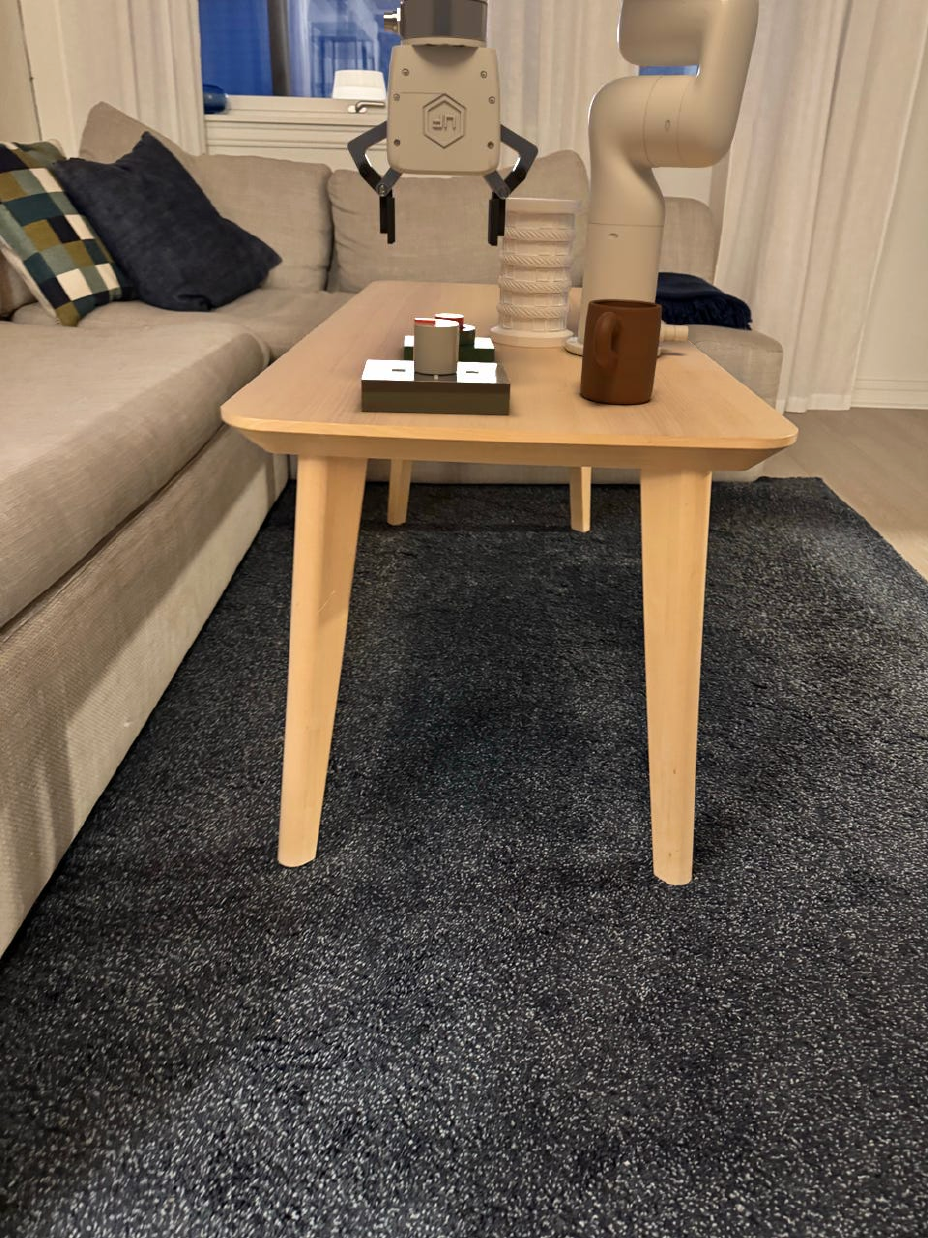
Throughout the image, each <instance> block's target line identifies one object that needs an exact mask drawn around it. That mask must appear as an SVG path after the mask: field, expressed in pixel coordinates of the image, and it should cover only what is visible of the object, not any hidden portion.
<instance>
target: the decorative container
mask: <svg viewBox="0 0 928 1238" xmlns="http://www.w3.org/2000/svg"><path fill="white" fill-rule="evenodd" d="M582 202H583V201H582V200H576V199H559V198H538V197H537V198H535V197H508V198H506V211H505V234H504V236H500V238H501V250H500V251H499V253H498V260H499V264H500V275H499V276H498V279H497V286H498V289H499V298H498V299H499V300H497V303H496V312H497V314H498V320H497V325H495V326H493V327H491V328H490V335H489V338H490V339H491V341H492V342H493V343H498V344H500V345H506V346H513V347H524V348H560V347H565V344H566V340H567V339H569V338H573V337H574V332H573V331H572V330H570V329H568V328H567V322H568V316H569V315H570V312H571V305H570V303H569V298H570V292H571V291H572V287H573V281H572V279H571V273H572V272H571V271H572V267H573V266H574V262H575V256H574V254H573V247H574V241H576V237H577V228H575V222H576V214H579V213H581V211H582Z"/></svg>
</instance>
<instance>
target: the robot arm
mask: <svg viewBox="0 0 928 1238" xmlns="http://www.w3.org/2000/svg"><path fill="white" fill-rule="evenodd" d="M620 4H621V5H620V10H619V16H618V22H617V23H618V26H617V37H616V40H617V47H618V52H619V54H620V55H621V57H622V58H623V60H625V61H626V62H628V63H630V64H632V65H636V66H639V67H653V68H655V67H695V66H698V69H697V74H676V75H675V74H674V75H672V74H671V75H668V74H654V75H653V74H651V75H650V74H649V75H647V74H646V75H630V76H623V77H620V78H616V79H615V78H614V79H612V80H610V81H609V82H607V83H605V84H604V85H602V86H601V87H600V88H599V89H598V90H597V92H596V93H595V94H594V96H593V98H592V99H591V102H590V105H589V109H588V114H587V115H588V116H587V136H588V137H587V138H588V149H589V162H590V163H589V165H590V166H589V167H590V186H589V200H588V201H589V203H588V214H587V224H586V225H587V227H586V237H585V249H584V261H583V270H582V271H583V272H582V283H581V295H580V297H581V298H580V306H579V307H580V308H579V317H578V318H579V319H578V330H577V336H573V338H569V339H567V340H566V344H565V346H564V348H565V350H566V351H568V352H569V353H572V354H574V355H578V356H582V355H583V344H584V332H585V322H586V316H587V310H588V303H589V302H590V301H592V300H600V299H626V300H639V301H647V302H652V303H656V296H657V290H658V289H657V288H658V279H659V271H660V264H661V263H660V262H661V256H662V247H663V238H664V230H665V222H666V213H667V212H666V201H665V197H664V194H663V191H662V189H661V187H660V185H659V183H658V181H657V179H656V176H655V175H654V172H653V169H658V168H675V169H676V168H678V169H679V168H680V169H703V168H710V167H713V166H715V165H717V164H719V163H720V162H721V161H722V160H723V159H724V158H725V157H726V156H727V154H728V152H729V150H730V148H731V145H732V143H733V140H734V137H735V134H736V133H735V132H736V129H737V125H738V120H739V116H740V111H741V107H742V102H743V97H744V93H745V88H746V84H747V79H748V74H749V69H750V64H751V60H752V54H753V50H754V45H755V41H756V36H757V29H758V25H759V15H760V14H759V10H760V0H621V3H620ZM396 8H397V9H396V10H392V12H383V31H384V32H392V34H397V36H398V37H400V44H399V45H394V46H392V49H391V55H390V60H389V70H388V78H387V79H388V80H387V95H386V120H384V121H383V122H381V123H379V124H378V125H376V126H374V127H372V128H370V129H368V130H366V131H365V132H363V133H361V134H360V135H358V136H356V137H355V138H353V139H351V140H349V141H348V142H347V144H346V147H347V151H348V152H349V153H348V154H349V155H350V157H351V158H352V161H353V163H354V165H355V167H356V169H357V171H358V173H359V175H360V177H361V178H362V179H363V180H364V181H365V182H366V183H367V184H368V185H369V187H371V188H372V190H373V191H374V192H375V193H376V194H377V196H378V204H379V205H378V208H379V211H378V212H379V234H380V235H386V244H387V245H393V244H394V243H396V197H394V194H393V192H394V190H393V188H394V186H395V185H396V184H397V183H398V181H399V180H400V178H401V177H402V176H403V175H404V174H405V175H416V176H417V175H419V176H420V175H421V176H457V177H459V176H461V177H462V176H463V177H479V176H480V177H482V178H483V180H484V181H485V183H486V184H487V185H488V187H489V188H490V190H491V198H490V199H488V214H487V215H488V216H487V218H488V220H487V243H488V244H489V245H490V246H491V247H498V243H499V242H498V241H499V240H498V239H499V237H501V236H504V234H505V211H506V198H510V195H511V194H513V192H514V191H515V190H516V189H517V188H518V187H519V186H520V185H521V184H522V183H523V182H524V181H525V180H526V178H527V175H528V173H529V171H530V170H531V167H532V166H533V164H534V162H535V160H536V158H537V157H538V154H539V147H538V146H537V145H536V144H534V143H532V142H530V141H529V140H527V139H526V138H524V137H523V136H521V135H520V134H518V133H517V132H515V131H514V130H512V129H510V128H508V127H506V126H505V125H504V124H502V123H501V87H500V85H501V84H500V74H499V73H500V72H499V62H498V57H497V56H498V55H497V50H496V49H495V48H491V47H488V32H489V30H488V29H489V0H400V7H396ZM384 140H386V159H387V164H388V165H389V168H388V170H386V172H385V173H384V175H383V176H381V175H380V174H379V173H378V171H376V169H375V168H374V167H373V166H372V164H371V162H370V161H369V158H368V156H367V152H368V149H370V148H372V147H373V146H375V145H377V144H378V143H381V142H383V141H384ZM501 144H503V145H504V146H506V147H508V148H509V149H511V150H513V151H514V152H516V153H517V154H518V159H517V161H516V164H515V165H514V168H513V169H512V170H511V171H510V172H509V173H508V174H507V175H506V176H505V177H504V179H503V177H502V176H501V175H500V173H499V172H498V170H497V169H498V167H499V164H500V157H501ZM688 337H689V326H688V325H683V324H682V325H680V324H679V325H678V324H665V323H664V322H661V331H660V339H659V343H663V342H664V340H666V341H677V342H678V341H679V342H680V341H681V342H682V341H683V342H685V341H688ZM661 354H662V345H661V344H659V347H658V355H657V357H659V356H660V355H661Z"/></svg>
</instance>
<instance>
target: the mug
mask: <svg viewBox="0 0 928 1238" xmlns="http://www.w3.org/2000/svg"><path fill="white" fill-rule="evenodd" d="M662 313H663V307H662V305H661V304H660V303H656V302H655V303H652V302H647V301H639V300H626V299H600V300H592V301H590V302H589V303H588V310H587V316H586V322H585V332H584V344H583V355H581V371H580V381H579V383H580V385H579V389H580V393H581V395H582V397H583V398H585V399H587V400H590V401H593V402H598V403H603V404H608V405H609V404H610V405H611V404H612V405H637V404H642V403H646V402H647V401H649V400H650V399H651V397H652V394H653V391H654V384H655V376H656V370H657V363H658V356H657V355H658V347H659V345H660V342H659V339H660V331H661V323H662V315H663V314H662Z"/></svg>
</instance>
